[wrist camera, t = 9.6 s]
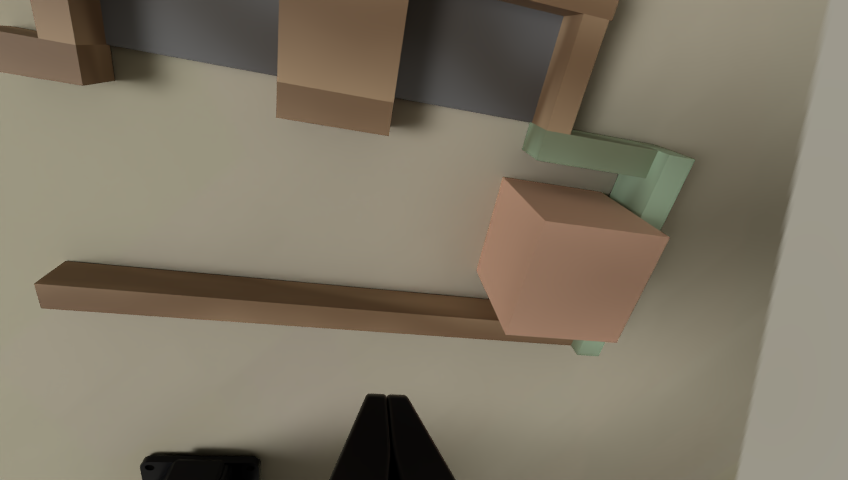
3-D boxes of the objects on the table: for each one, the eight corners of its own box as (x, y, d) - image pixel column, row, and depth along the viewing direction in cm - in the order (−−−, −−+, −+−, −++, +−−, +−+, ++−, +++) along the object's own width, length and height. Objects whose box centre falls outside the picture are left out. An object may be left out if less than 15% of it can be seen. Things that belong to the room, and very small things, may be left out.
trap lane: (575, 324, 22) (598, 356, 20) (70, 284, 18) (27, 318, 15) (711, 16, 16) (767, 13, 14) (-40, -181, 11) (-143, -236, 9)
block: (565, 279, 21) (616, 342, 17) (476, 269, 20) (505, 334, 16) (599, 191, 19) (670, 237, 14) (502, 176, 18) (545, 221, 14)
